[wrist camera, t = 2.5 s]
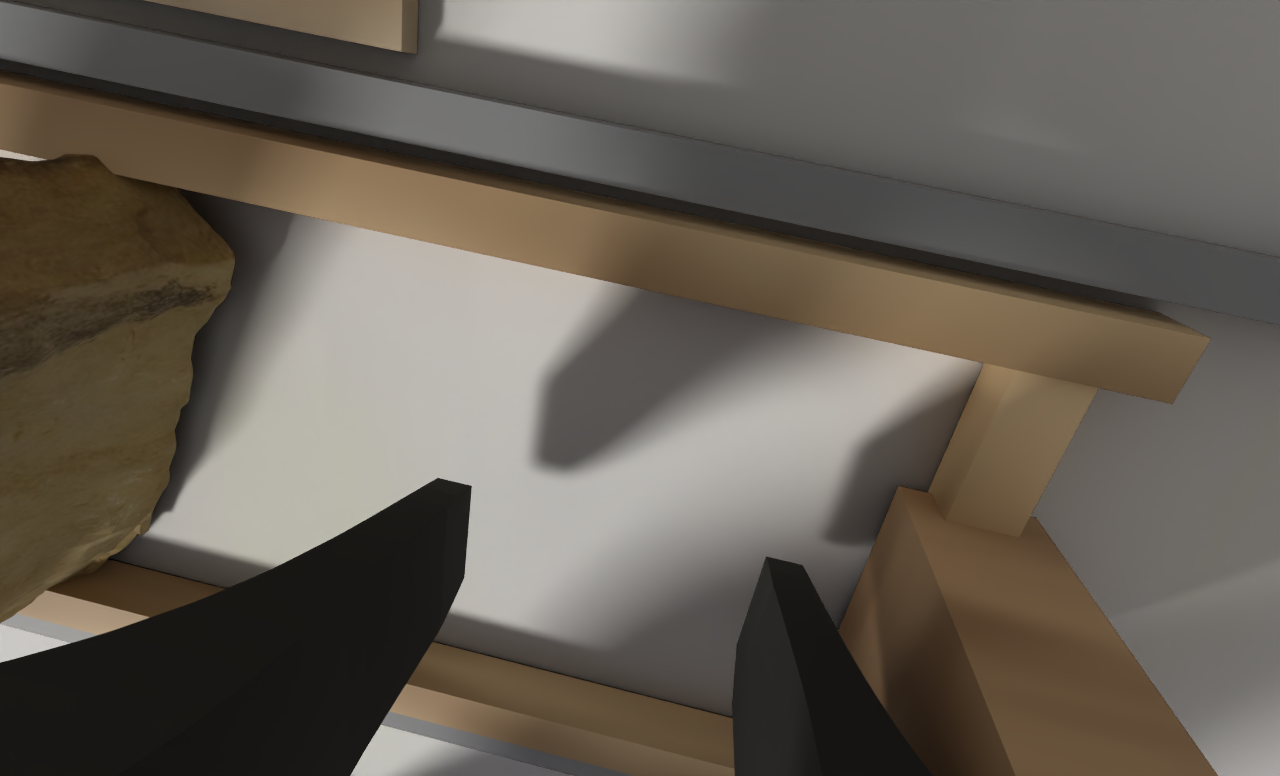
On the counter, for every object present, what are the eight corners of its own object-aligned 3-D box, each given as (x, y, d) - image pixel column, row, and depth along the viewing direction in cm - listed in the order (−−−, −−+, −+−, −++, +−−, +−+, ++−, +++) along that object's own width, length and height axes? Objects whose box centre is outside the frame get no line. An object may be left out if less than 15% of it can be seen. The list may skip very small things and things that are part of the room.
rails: (1126, 886, 15) (1146, 926, 14) (-310, 511, 17) (-357, 529, 16) (2118, -258, 6) (2292, -303, 6) (-973, -711, 9) (-1132, -787, 8)
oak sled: (896, 792, 15) (991, 1219, 9) (-103, 534, 16) (-554, 765, 11) (1158, 312, 10) (1713, 592, 4) (-307, 5, 11) (-1347, -91, 6)
